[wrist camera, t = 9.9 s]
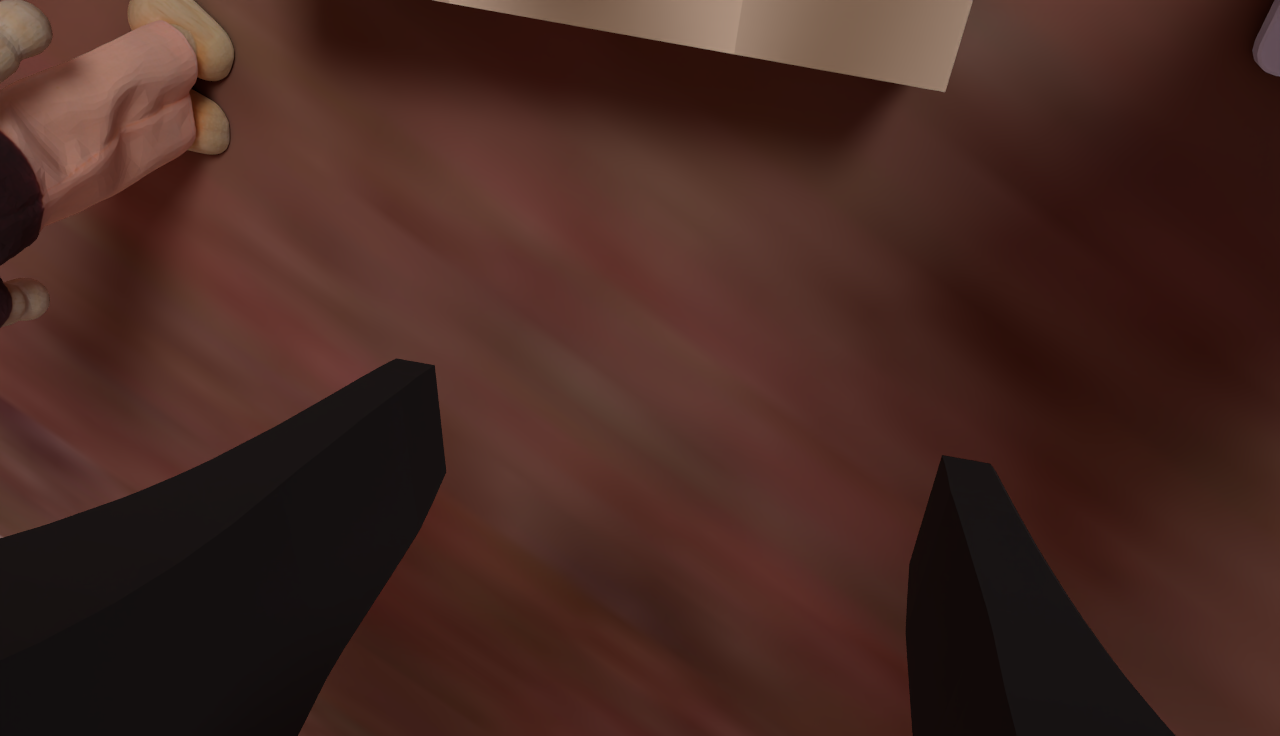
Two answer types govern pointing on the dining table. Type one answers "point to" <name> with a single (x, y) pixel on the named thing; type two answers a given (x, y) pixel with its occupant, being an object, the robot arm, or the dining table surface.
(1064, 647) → the robot arm
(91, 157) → the grandmother figurine
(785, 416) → the dining table surface
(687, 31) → the maple hole block
